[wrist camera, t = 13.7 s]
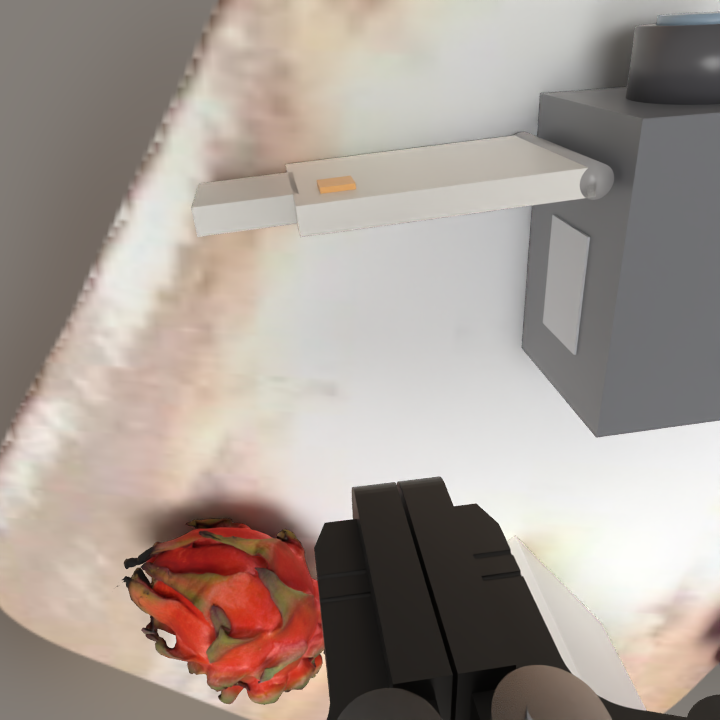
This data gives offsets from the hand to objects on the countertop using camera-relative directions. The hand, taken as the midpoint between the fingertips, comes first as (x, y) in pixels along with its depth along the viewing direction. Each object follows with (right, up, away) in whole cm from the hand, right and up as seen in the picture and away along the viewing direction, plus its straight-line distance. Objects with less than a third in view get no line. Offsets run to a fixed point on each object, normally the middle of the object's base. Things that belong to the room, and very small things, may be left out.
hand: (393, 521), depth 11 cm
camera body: (+11, +10, +19) cm, 24 cm away
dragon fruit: (-8, -8, +25) cm, 28 cm away
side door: (0, +11, +16) cm, 19 cm away
